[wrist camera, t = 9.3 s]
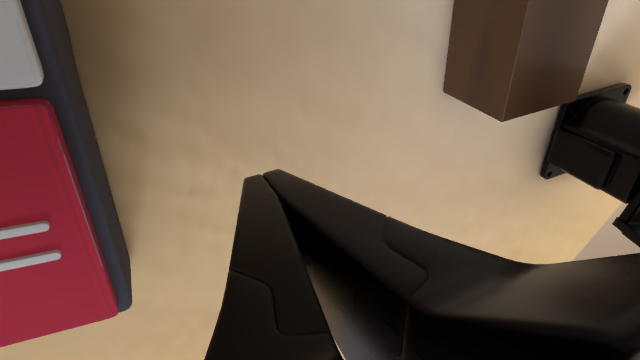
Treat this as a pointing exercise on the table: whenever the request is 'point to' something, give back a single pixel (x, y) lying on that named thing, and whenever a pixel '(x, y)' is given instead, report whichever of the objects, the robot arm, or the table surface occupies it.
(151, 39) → the table surface
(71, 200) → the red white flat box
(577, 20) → the walnut block
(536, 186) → the table surface
